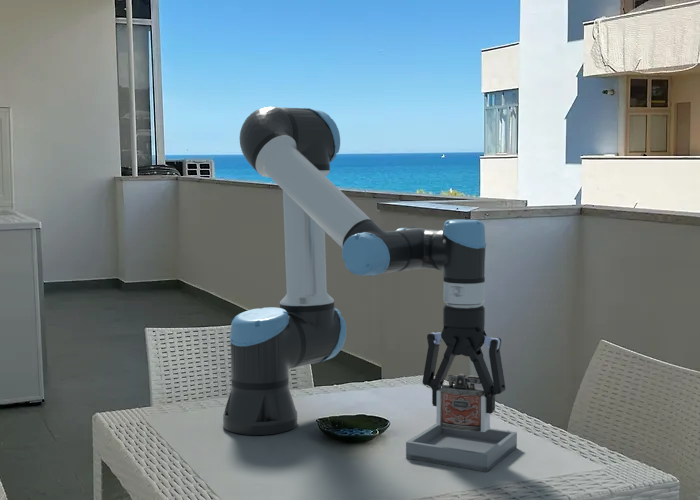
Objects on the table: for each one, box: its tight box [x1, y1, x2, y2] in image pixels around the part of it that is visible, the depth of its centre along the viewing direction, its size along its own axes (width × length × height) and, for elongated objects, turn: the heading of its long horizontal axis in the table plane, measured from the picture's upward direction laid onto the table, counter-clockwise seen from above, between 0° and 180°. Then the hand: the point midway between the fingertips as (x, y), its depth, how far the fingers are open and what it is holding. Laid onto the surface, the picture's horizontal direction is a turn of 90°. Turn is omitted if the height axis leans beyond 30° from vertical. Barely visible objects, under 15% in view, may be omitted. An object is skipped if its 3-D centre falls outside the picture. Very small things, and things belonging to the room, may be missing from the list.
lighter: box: [441, 373, 485, 432], centre depth 171 cm, size 8×3×10 cm, turn 68°
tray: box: [405, 423, 518, 473], centre depth 172 cm, size 16×16×3 cm
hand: (463, 426), depth 171 cm, fingers closed on lighter, 8 cm apart
